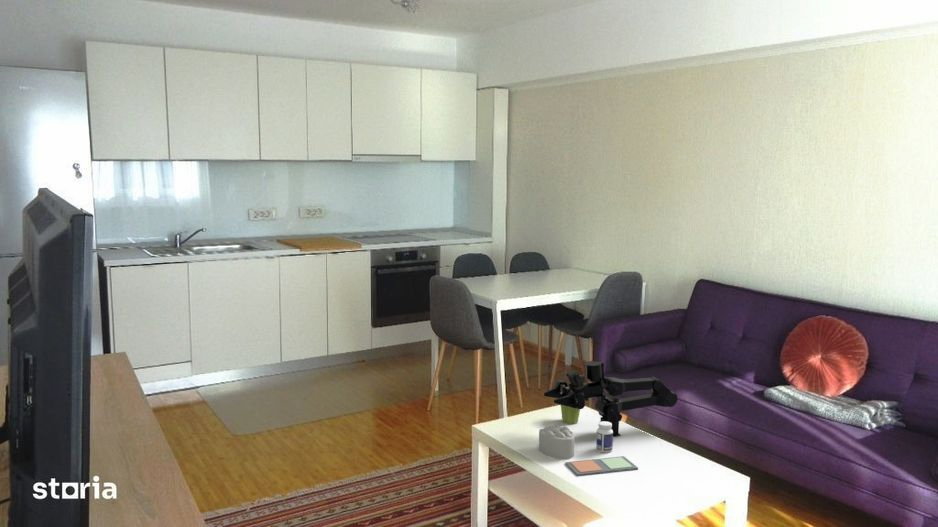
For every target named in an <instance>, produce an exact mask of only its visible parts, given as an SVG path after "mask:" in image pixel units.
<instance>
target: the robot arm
mask: <svg viewBox="0 0 938 527" xmlns="http://www.w3.org/2000/svg"><path fill="white" fill-rule="evenodd" d="M565 375H566V377H567V378H568V381H569V382H568V383H567V382H566V381H564V380H563V379H559V380H556V383H555V385H554V387H552V388H550V389H549V390H546V391H545V392H544V393H543V396H544V397H546V398H547V397H549V398H552V399H553V398H554V399H553V403H554V404H556V405H560V406H561V405H564V406H568V407H572V408H575V409H576V408H577V409H578V410H579V409H580V410H583V409H584V408H585V406H586V402H587V401H589V399H594V398H597V400H596V402H595V404H594V405H595V406H594V408H595V410H596V411H597V412H598V415H599V416H600V418H599V419H600V421H599V422H602V421H607V422H610V423H612V428H611V429H612V430H613V437H621V433H619V428H620V422H621V421H622V418H623V415H622V414H621V413H622V412H624V411H630V410H636V409H643V408H649V407H654V406H655V407H656V406H657V407H663V408H673V407H675V406H676V404H677V402H678V395H677V394H676V393H675V392H674V391H672V390H670V389H668V387H667V386H665V385H664V384H663V382H662V381H661V380H660V379H658V378H656V377H655V376H650V377H643V378H628V379H626V378H625V379H623V378H619V377H618V378H617V377H614V376H613V377H611V376H605V363H604V362H603V361H591V360H589V361H587V362H585V375H584V374H580V372H578V371H577V370H575V369H571V370H569V371H568V372H566V373H565ZM586 379H587V380H588V381H589V382H585V381H586ZM644 390H645V391H649V390H651V391H652V392H651V393H648V394H647V393H646V394H642V395H641V394H640V395H635V396H630V397H629V396H628V397H623V398H622V397H621V398H618V397H617V396H621V395H623V394H624V393H626V392H634V391H636V392H637V391H644ZM604 393H607V394H608V395H605V394H604Z"/></svg>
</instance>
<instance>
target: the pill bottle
mask: <svg viewBox="0 0 938 527" xmlns="http://www.w3.org/2000/svg"><path fill="white" fill-rule="evenodd" d="M597 426H598V428H597V429H596V443H595V444H596V447H595V448H596V450H597V451H598V452H600V453H604V454H607V453H611V452H612V451H613V446H614V444H613V441H614V436H613V430H612V429H611V428H612V423H610V422H607V421H602V422H600V421H598V425H597Z"/></svg>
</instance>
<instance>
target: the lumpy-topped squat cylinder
mask: <svg viewBox="0 0 938 527" xmlns="http://www.w3.org/2000/svg"><path fill="white" fill-rule="evenodd" d="M538 452H539V453H541V452H542V453H541V454H542V455H544V456H546V457H549V458H552V459H559V460H570V459H573V458H574V456H575V434H574V433H573V431H571V429H570V428H569V427H568V426H559V425H556V424H553V425H550V426H545V427H542V428H539V431H538Z"/></svg>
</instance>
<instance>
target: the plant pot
mask: <svg viewBox="0 0 938 527" xmlns="http://www.w3.org/2000/svg"><path fill="white" fill-rule="evenodd" d="M560 411H561V420H562V422H563V423H565V424H568V425H574V424H577V423H578V422H579V417H580V412H581V409H579V410H578V409H577V408H576V409H575V408H572V407H568V406H564V405H560Z"/></svg>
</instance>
